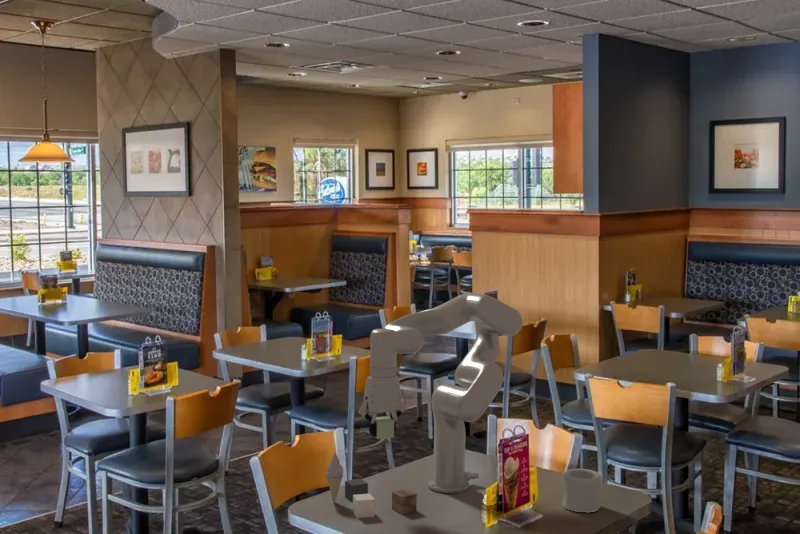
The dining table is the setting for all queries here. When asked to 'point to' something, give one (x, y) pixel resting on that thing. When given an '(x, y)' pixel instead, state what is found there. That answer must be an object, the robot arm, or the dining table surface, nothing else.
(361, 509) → the offwhite block
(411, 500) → the walnut block
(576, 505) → the mug
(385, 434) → the sage block
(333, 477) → the ice cream cone
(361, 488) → the black block
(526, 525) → the dining table surface
